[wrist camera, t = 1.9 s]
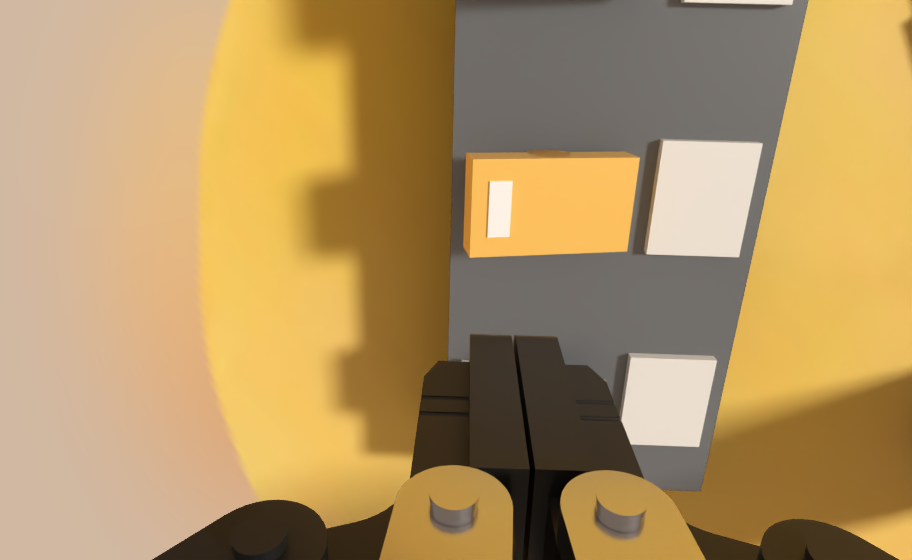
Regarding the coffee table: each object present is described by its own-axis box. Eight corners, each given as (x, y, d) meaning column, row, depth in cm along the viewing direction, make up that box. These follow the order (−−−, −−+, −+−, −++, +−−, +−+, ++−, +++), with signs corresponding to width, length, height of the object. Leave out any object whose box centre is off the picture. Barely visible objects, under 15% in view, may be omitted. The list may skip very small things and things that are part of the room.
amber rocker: (618, 148, 23) (640, 158, 21) (607, 236, 24) (627, 252, 22) (462, 149, 22) (473, 159, 20) (460, 241, 23) (470, 258, 21)
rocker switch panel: (798, -210, 22) (874, -267, 18) (674, 439, 32) (703, 497, 28) (464, -216, 22) (461, -274, 18) (448, 430, 32) (445, 487, 28)
